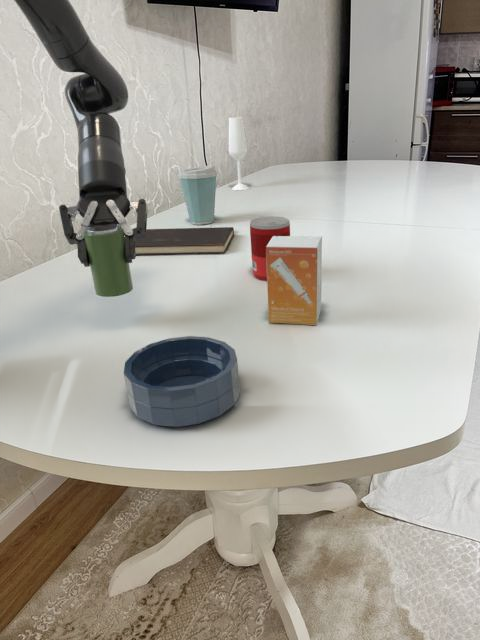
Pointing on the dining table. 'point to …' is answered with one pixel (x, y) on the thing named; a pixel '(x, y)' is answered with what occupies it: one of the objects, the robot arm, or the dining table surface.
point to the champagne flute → (237, 146)
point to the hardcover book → (185, 241)
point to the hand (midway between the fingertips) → (107, 262)
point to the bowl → (182, 380)
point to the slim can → (108, 259)
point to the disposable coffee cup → (199, 193)
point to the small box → (294, 279)
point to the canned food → (265, 240)
